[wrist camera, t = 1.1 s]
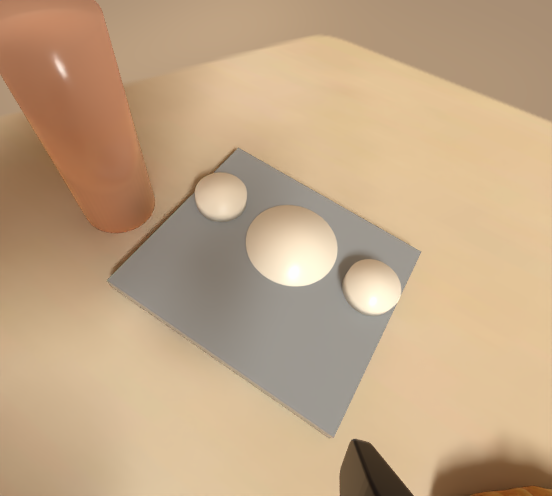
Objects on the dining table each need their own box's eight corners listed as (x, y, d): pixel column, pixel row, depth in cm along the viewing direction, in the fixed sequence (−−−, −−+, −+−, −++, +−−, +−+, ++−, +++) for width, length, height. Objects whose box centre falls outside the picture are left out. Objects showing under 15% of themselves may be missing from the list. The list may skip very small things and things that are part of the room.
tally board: (329, 437, 20) (338, 437, 19) (111, 286, 23) (101, 273, 21) (414, 258, 27) (428, 244, 25) (237, 156, 30) (238, 138, 28)
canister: (121, 245, 24) (33, 70, 13) (68, 209, 25) (-57, 16, 14) (168, 199, 27) (128, 16, 15) (118, 168, 27) (45, -27, 16)
